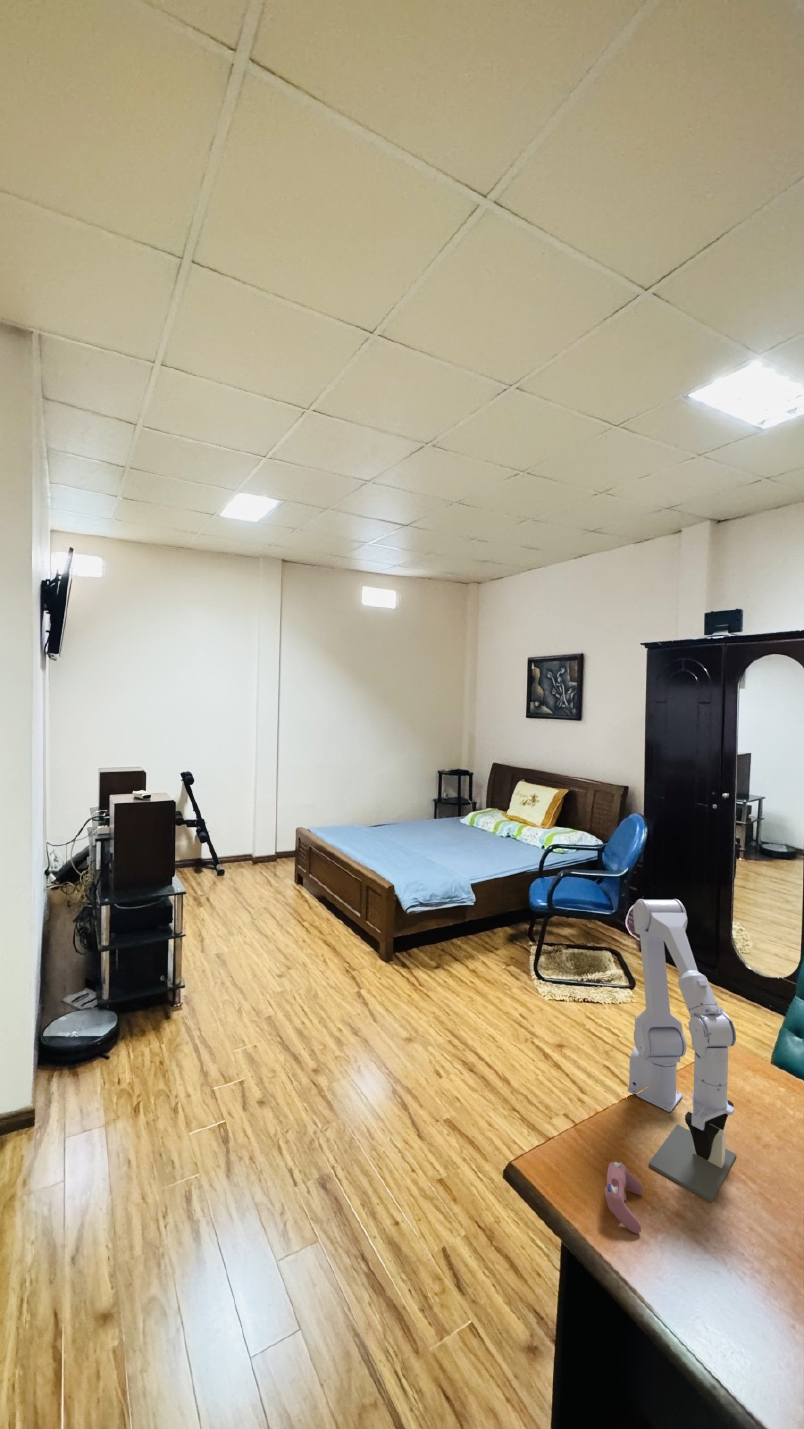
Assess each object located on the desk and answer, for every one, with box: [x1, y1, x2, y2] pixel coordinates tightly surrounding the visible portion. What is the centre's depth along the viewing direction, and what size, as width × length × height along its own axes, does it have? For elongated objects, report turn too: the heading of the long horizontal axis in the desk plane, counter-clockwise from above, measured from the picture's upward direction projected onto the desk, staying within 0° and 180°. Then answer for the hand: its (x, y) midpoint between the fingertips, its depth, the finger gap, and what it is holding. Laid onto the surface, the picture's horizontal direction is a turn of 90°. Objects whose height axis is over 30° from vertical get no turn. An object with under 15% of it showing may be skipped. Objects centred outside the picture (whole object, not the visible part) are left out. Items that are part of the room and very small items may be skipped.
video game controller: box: [604, 1161, 644, 1235], centre depth 98 cm, size 10×5×7 cm, turn 154°
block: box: [693, 1126, 726, 1168], centre depth 109 cm, size 5×2×6 cm, turn 45°
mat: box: [648, 1123, 737, 1203], centre depth 108 cm, size 11×15×1 cm
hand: (708, 1146), depth 109 cm, fingers open, 7 cm apart
